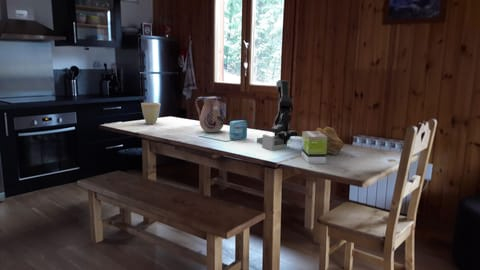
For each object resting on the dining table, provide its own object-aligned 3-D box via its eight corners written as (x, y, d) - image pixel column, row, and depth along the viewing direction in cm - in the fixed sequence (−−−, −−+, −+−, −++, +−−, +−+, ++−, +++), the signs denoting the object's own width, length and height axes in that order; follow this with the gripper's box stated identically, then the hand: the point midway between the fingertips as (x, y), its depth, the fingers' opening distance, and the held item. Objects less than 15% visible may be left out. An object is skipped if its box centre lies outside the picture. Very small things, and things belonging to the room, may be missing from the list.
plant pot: (147, 125, 295) (147, 105, 292) (138, 123, 306) (137, 103, 302) (164, 123, 305) (164, 104, 302) (154, 121, 316) (154, 102, 312)
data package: (233, 140, 251) (234, 122, 249) (229, 139, 254) (229, 121, 252) (246, 138, 259) (247, 120, 257) (242, 137, 262) (242, 119, 260)
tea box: (300, 156, 214) (302, 130, 211) (318, 156, 215) (319, 130, 212) (307, 163, 199) (309, 136, 196) (326, 163, 200) (328, 136, 197)
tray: (277, 139, 257) (277, 135, 256) (287, 142, 249) (287, 138, 249) (256, 142, 247) (257, 138, 246) (266, 145, 239) (266, 140, 239)
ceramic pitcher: (222, 134, 270) (223, 98, 265) (193, 133, 271) (193, 97, 266) (224, 129, 287) (225, 96, 283) (196, 128, 288) (196, 95, 283)
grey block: (276, 145, 239) (277, 133, 238) (286, 148, 232) (287, 135, 231) (262, 147, 233) (262, 134, 231) (271, 150, 226) (272, 137, 224)
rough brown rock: (334, 160, 210) (339, 134, 207) (306, 153, 219) (310, 128, 216) (347, 153, 230) (351, 129, 227) (321, 147, 238) (325, 124, 235)
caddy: (283, 145, 240) (283, 137, 239) (288, 147, 236) (288, 139, 235) (267, 147, 232) (267, 139, 231) (271, 149, 229) (272, 141, 228)
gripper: (264, 118, 236) (263, 143, 239) (285, 123, 221) (283, 149, 224) (278, 117, 243) (277, 141, 246) (299, 122, 228) (297, 147, 231)
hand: (283, 145), depth 236 cm, fingers closed on caddy, 2 cm apart
